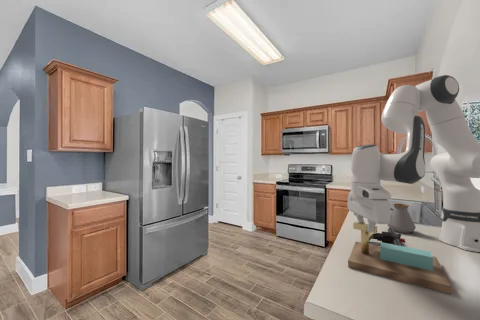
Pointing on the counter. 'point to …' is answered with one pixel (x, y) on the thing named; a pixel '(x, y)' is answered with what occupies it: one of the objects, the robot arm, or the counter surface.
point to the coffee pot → (401, 219)
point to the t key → (364, 236)
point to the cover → (406, 256)
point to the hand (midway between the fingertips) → (365, 229)
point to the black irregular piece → (389, 237)
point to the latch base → (398, 269)
